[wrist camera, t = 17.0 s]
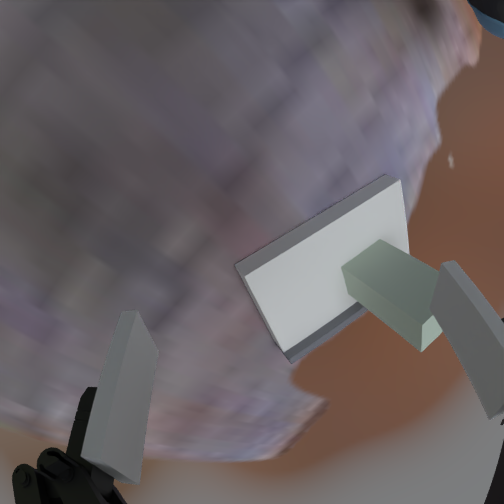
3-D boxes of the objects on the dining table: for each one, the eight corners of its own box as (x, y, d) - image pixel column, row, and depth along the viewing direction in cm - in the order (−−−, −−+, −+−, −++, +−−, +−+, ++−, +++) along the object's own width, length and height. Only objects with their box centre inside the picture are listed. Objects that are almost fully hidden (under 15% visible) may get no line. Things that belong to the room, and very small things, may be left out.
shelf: (384, 174, 40) (408, 182, 36) (397, 260, 48) (417, 271, 44) (234, 264, 36) (249, 282, 32) (277, 345, 44) (292, 365, 40)
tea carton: (341, 266, 39) (422, 325, 27) (379, 238, 40) (462, 285, 28) (348, 294, 42) (421, 352, 30) (384, 266, 43) (458, 314, 31)
